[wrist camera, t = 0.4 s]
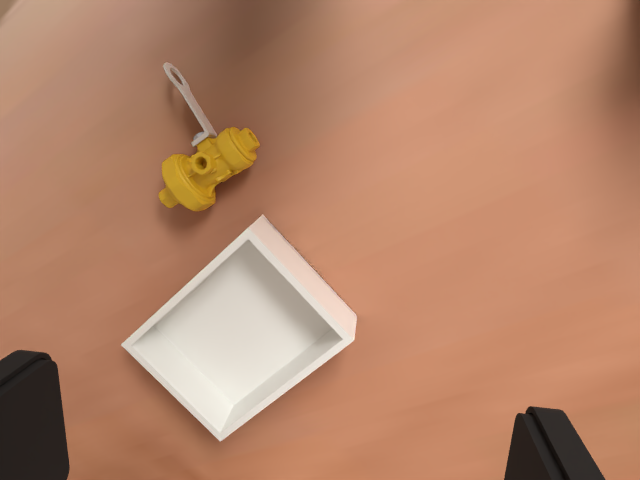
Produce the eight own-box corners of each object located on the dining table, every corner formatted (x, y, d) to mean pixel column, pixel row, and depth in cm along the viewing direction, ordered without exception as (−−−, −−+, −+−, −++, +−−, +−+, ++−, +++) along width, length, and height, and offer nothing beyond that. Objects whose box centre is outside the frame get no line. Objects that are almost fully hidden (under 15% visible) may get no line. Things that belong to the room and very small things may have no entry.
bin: (146, 321, 49) (120, 344, 44) (262, 214, 44) (248, 227, 39) (235, 409, 50) (220, 441, 46) (357, 315, 46) (354, 340, 41)
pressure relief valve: (278, 163, 42) (194, 221, 45) (208, 50, 42) (128, 114, 45) (257, 161, 37) (163, 227, 39) (177, 32, 37) (88, 106, 39)
